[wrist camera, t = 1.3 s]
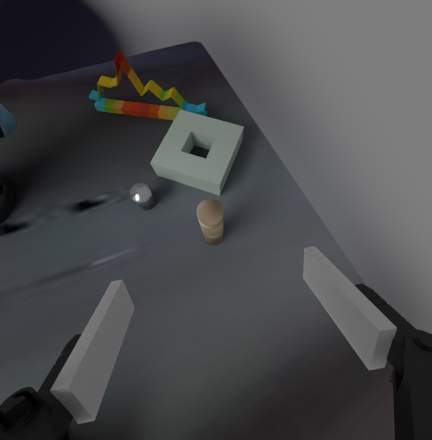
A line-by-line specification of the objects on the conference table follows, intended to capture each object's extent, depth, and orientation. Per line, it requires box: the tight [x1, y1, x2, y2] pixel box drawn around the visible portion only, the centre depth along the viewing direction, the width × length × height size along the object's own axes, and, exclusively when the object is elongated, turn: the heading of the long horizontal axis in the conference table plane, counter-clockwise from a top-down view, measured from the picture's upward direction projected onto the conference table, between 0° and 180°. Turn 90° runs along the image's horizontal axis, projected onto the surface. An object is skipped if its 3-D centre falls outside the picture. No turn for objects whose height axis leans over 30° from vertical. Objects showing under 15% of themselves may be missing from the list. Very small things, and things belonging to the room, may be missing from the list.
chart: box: [89, 50, 208, 120], centre depth 49 cm, size 30×3×15 cm, turn 79°
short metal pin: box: [130, 183, 156, 210], centre depth 44 cm, size 4×4×5 cm
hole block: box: [150, 110, 244, 196], centre depth 48 cm, size 16×16×5 cm
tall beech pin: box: [197, 199, 224, 245], centre depth 37 cm, size 4×4×14 cm
